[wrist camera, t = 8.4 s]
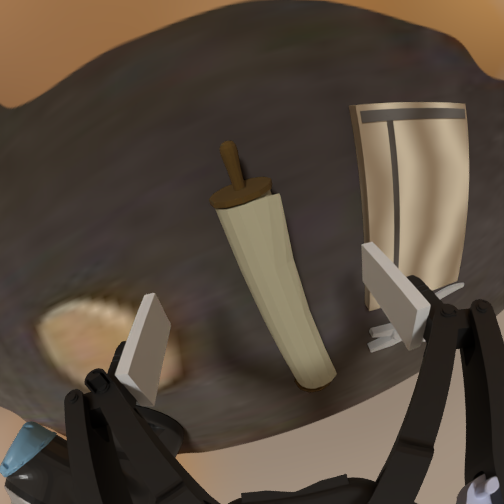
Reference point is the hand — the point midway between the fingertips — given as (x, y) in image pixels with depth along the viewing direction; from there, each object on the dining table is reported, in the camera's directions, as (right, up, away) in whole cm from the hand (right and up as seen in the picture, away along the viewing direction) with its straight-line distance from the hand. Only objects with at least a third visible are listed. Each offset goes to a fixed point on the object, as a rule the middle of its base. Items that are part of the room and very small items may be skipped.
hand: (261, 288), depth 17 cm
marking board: (+16, +7, +8) cm, 19 cm away
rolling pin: (+3, -2, +12) cm, 13 cm away
